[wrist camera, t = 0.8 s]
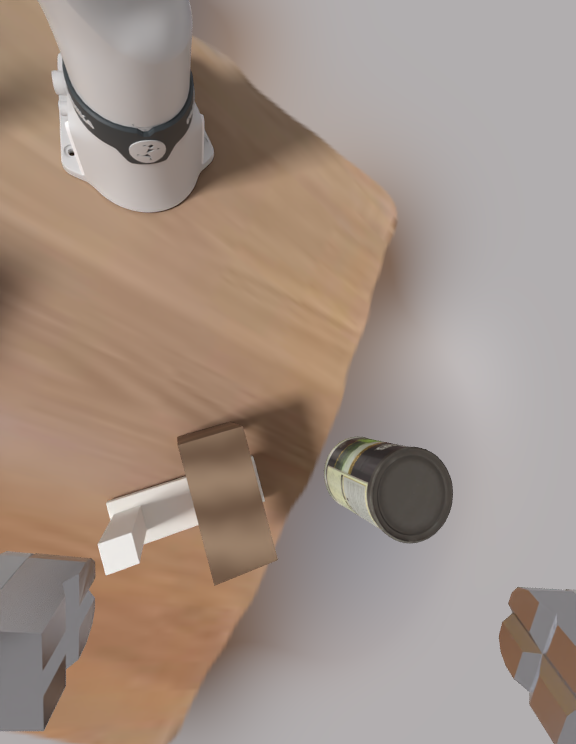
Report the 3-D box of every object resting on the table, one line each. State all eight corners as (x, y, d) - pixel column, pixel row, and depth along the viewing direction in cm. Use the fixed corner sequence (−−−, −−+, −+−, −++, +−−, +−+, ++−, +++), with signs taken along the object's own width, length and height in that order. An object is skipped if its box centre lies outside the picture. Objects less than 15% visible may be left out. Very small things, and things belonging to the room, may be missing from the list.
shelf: (177, 437, 50) (177, 445, 41) (230, 421, 52) (242, 426, 43) (207, 551, 50) (214, 585, 41) (259, 531, 52) (277, 559, 43)
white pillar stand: (107, 500, 47) (87, 530, 36) (251, 455, 52) (271, 469, 41) (120, 549, 47) (104, 593, 36) (262, 499, 52) (285, 524, 41)
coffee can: (332, 428, 56) (383, 437, 42) (395, 445, 58) (461, 459, 45) (314, 501, 54) (361, 534, 41) (379, 515, 57) (443, 551, 43)
